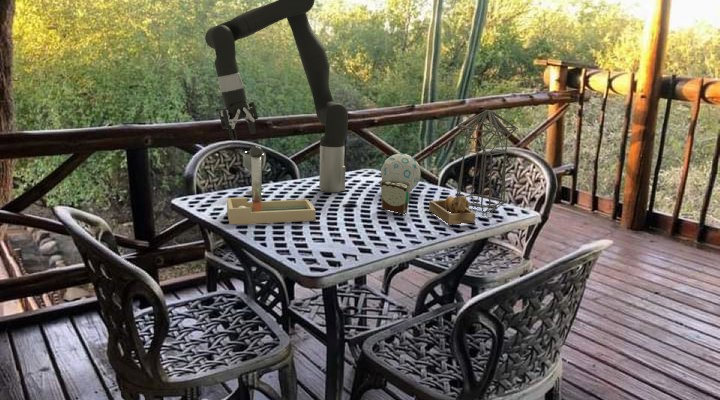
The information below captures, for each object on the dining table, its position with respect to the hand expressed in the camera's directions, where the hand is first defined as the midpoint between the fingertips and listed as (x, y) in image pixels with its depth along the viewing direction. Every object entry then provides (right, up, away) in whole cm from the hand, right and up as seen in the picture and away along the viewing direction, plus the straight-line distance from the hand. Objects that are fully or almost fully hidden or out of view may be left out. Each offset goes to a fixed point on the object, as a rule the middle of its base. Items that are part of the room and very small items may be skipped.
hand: (244, 136), depth 194 cm
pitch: (+9, -27, -9) cm, 29 cm away
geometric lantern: (+79, -26, +2) cm, 83 cm away
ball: (+2, -25, -11) cm, 27 cm away
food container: (+52, -25, +3) cm, 58 cm away
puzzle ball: (+54, -18, +28) cm, 63 cm away
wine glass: (0, -19, +21) cm, 28 cm away
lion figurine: (+69, -28, -4) cm, 75 cm away
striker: (+6, -24, -10) cm, 27 cm away
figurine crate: (+68, -27, -4) cm, 74 cm away
